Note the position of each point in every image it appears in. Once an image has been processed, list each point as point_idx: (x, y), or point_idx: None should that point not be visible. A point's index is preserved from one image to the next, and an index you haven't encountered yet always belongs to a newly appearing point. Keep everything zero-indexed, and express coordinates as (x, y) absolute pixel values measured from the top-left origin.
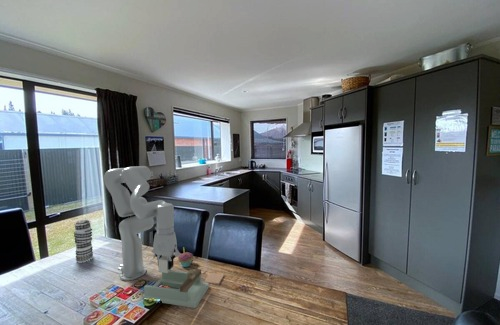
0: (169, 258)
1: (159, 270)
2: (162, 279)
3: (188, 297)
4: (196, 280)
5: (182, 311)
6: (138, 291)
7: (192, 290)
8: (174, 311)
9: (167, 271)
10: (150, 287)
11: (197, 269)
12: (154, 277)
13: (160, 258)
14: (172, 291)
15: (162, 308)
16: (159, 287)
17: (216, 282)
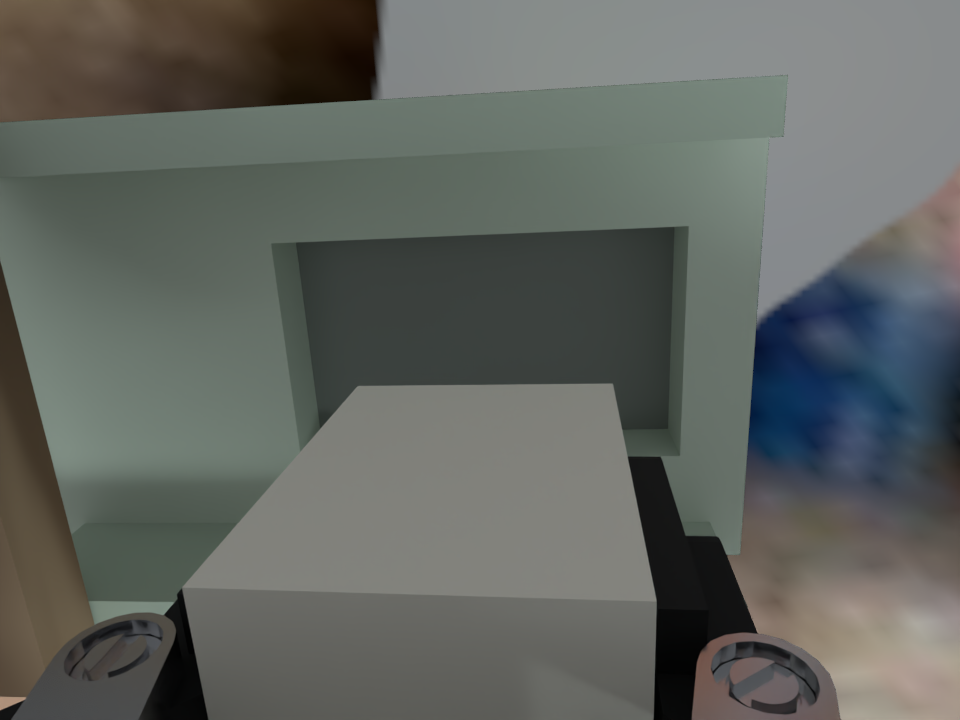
0: (102, 711)
1: (588, 398)
2: (690, 503)
3: (31, 223)
4: (114, 543)
5: (51, 51)
6: (954, 254)
7: (83, 371)
8: (148, 21)
9: (346, 409)
10: (626, 87)
11: (4, 683)
12: (899, 575)
13: (609, 683)
14: (141, 117)
15: (344, 26)
16: (432, 127)
17: None
